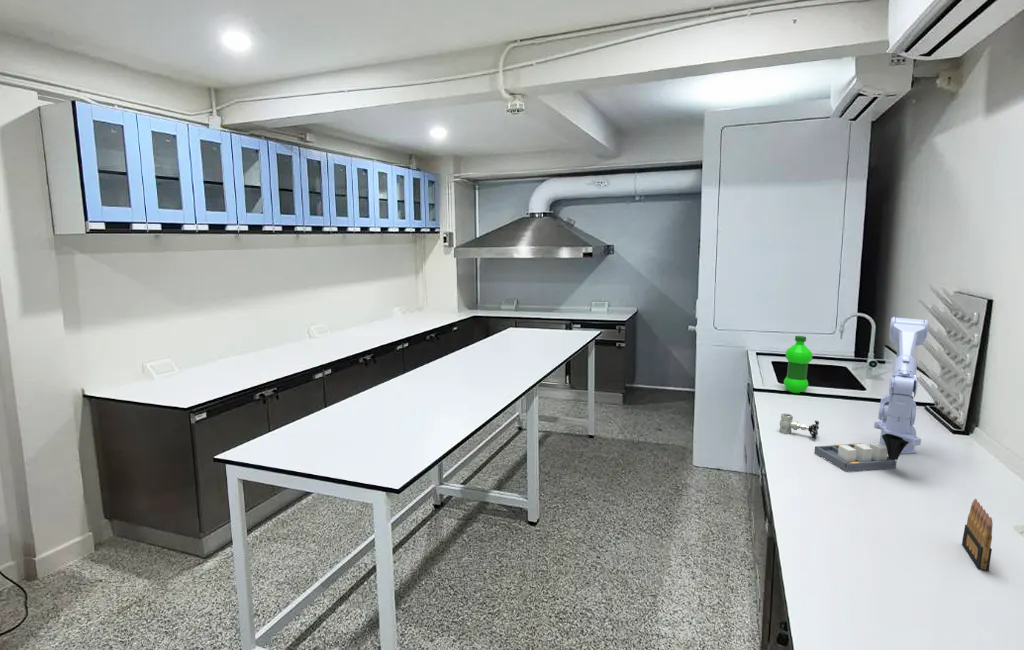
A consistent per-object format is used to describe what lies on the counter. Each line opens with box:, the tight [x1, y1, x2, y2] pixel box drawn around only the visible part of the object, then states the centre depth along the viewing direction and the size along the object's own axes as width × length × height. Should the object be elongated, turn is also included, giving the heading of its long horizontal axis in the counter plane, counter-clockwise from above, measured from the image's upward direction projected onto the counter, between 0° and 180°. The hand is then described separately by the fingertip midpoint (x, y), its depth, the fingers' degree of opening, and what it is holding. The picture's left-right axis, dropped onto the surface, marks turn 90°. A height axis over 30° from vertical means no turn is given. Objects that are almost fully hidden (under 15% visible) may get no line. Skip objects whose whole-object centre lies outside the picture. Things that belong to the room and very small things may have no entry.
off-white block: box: [854, 443, 873, 462], centre depth 172 cm, size 3×4×4 cm
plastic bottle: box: [783, 335, 813, 394], centre depth 246 cm, size 10×10×25 cm
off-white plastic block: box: [838, 444, 857, 463], centre depth 171 cm, size 3×4×4 cm
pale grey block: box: [869, 442, 888, 461], centre depth 173 cm, size 3×4×4 cm
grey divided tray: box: [813, 442, 898, 473], centre depth 175 cm, size 17×14×3 cm
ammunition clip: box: [961, 498, 993, 572], centre depth 123 cm, size 11×2×12 cm, turn 156°
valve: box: [779, 413, 820, 440], centre depth 196 cm, size 7×7×12 cm
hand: (893, 459), depth 167 cm, fingers closed
